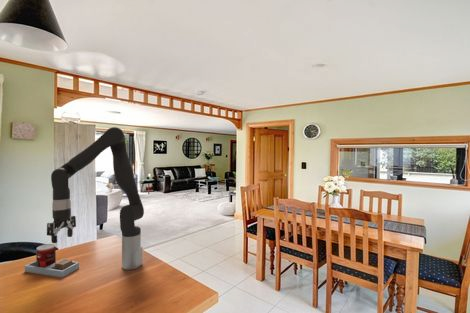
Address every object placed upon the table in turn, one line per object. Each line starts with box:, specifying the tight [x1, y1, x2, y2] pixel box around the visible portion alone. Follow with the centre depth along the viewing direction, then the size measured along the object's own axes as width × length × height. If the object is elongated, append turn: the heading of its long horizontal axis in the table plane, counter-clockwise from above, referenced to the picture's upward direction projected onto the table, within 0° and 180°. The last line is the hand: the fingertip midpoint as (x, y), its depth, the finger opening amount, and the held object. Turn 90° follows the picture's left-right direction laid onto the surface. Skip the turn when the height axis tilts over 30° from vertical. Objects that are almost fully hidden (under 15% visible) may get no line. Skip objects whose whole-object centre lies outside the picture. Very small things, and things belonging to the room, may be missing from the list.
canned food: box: [35, 243, 57, 268], centre depth 127 cm, size 8×8×11 cm
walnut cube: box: [55, 258, 73, 270], centre depth 123 cm, size 5×5×5 cm
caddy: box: [24, 257, 80, 278], centre depth 125 cm, size 23×12×3 cm, turn 78°
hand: (62, 239), depth 122 cm, fingers open, 8 cm apart
